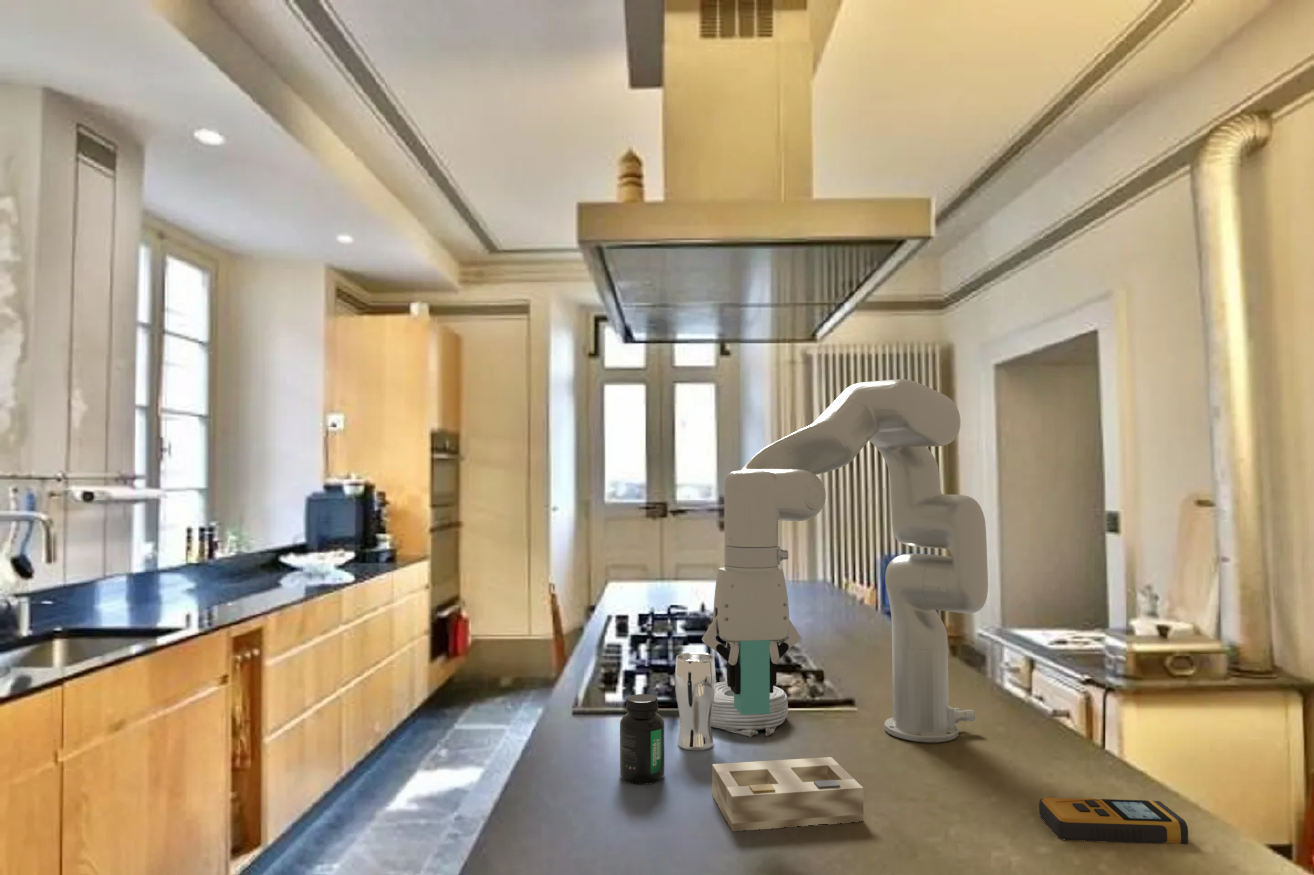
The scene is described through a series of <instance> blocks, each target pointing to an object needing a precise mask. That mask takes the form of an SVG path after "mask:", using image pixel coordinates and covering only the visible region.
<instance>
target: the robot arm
mask: <svg viewBox="0 0 1314 875" xmlns="http://www.w3.org/2000/svg"><path fill="white" fill-rule="evenodd" d="M960 429H961V416H960V411H959V408H958V407H957V405H956V403H955V402H954V401H953V400H952V399H951V398H950V397H948V396H947V395H945V394H943V393H941V392H939V391H937V390H935V389H933V388H931V387H929V386H926V385H925V384H922V383H920V382H917V381H914V380H911V379H906V378H905V379H904V378H900V379H899V378H898V379H897V378H896V379H885V380H874V381H862V382H856V383H854V384H852V385H849V386H848V387H847V388H845V389H844V390H843V391H842V392H841V393H840V394H839V395H838V396H837V397H836V398H835V399H834V400H833V401H832V403H831V404H830V405H828V407H826V409H825V410H824V411H823V412H822V413H821V414H819V416H818V417H817V418H816V419H815V420H814V421H813V422H812V423H811V424H809V425H808V426H805V427H803V428H800V429H798V430H796V431H794V432H792V433H791V434H789V435H786V436H784V437H782V438H781V439H779V440H777V441H774V442H772V443H771V444H769V445H767V446H766V447H764V448H762V449H760V450H759V451H758V452H757V453H756V454H754V456H753V457H752V458H750V459H749V460H748V461H747V463H745V465H744V466H743V467H742V468H741V469H740V470H735V471H734V470H733V471H730V472H729V473H728V474H726V476H725V479H724V567H719V568H718V570H717V574H716V581H715V587H714V588H715V590H714V598H713V611H712V612H713V613H712V621H711V623H710V625H709V626H708V628H707V630H706V631H705V633H704V634H703V636H702V638H701V640H702V641H701V642H702V643H703V644H705V645H706V646H707V647H709V648H711V650H714V651H716V652H717V653H718V654H719V655H720V656H721V658H723V659H724V660H725V661H726V681H727V685H728V687H731V690H732V691H733V692H734V693H735V694H740V665H739V664H738V659H737V658H738V653H739V647H740V642H741V641H751V640H770V693H773V686H776V685H777V680H778V679H777V664H778V663H780V659H781V658H782V657H783V656H784V655H785V654H786V653H787V652H788V651H789V649H790V648H792V647H794V646H795V645H796V644H798V643H799V642H800V641H801V640H802V638H801V635H800V634H799V632H798V630H797V628H795V625H794V624H793V623H792V622H791V620H790V608H789V598H788V591H787V590H788V589H787V583H786V578H785V573H784V569H783V568H782V567H779V566H781V562H782V561H784V560H785V561H786V560H788V559H789V551H788V550H787V549H782V548H781V547H780V546H779V521H785V522H803V521H808V520H811V519H812V518H815V517H816V516H817V515H818V514H820V512H821V511H822V510H823V508H824V505H825V503H826V488H825V486H824V483H823V481H822V480H821V479H820V478H819V477H818V476H817V475H821V474H826V473H828V472H831V471H835V470H838V469H840V468H843V467H845V466H847V465H849V464H850V463H851V462H852V461H853V460H854V459H855V458H856V457H857V455H858V454H859V453H861V452H860V451H861V450H862V449H863V448H864V447H865V446H866V445H867V443H868V442H870V443H871V444H872V445H873V446H874V447H875V448H876V449H877V451H878V452H879V453H880V454H881V456H882V457H883V460H884V461H885V463H886V466H887V469H888V473H889V484H890V485H889V487H890V507H891V525H892V532H893V536H894V538H895V540H896V541H898V543H900V544H903V545H905V546H909V547H914V548H915V547H916V548H929V549H930V548H931V549H941V550H942V549H944V550H948V551H949V552H950V556H949V555H938V554H927V553H925V554H924V553H903V554H901V555H898V556H895V557H894V558H893V559H891V560H890V562H889V563H888V565H887V567H886V570H885V576H884V579H885V581H884V582H885V589H886V594H887V597H888V602H889V608H890V617H891V618H890V619H891V651H892V652H891V653H892V654H891V655H892V656H891V659H892V660H891V661H892V662H891V663H892V665H891V666H892V668H891V669H892V673H891V674H892V717H890V718H889V717H888V718H887V719H886V720H884V726H883V728H884V730H885V731H886V733H887V734H889V735H891V736H893V737H896V738H899V739H902V740H906V741H911V742H917V743H919V742H920V743H944V742H949V741H952V740H955V739H956V738H958V736H959V727H958V726H957V724H958V723H959V722H974V721H975V720H976V713H975V711H974V710H973V709H963V710H961V708H960V707H952V706H950V704H949V653H948V652H949V650H948V648H949V646H948V642H949V641H948V633H947V630H946V629H947V628H946V626H945V624H944V622H943V620H942V619H941V616H940V615H939V613H938V612H937V611H942V612H951V613H952V612H953V613H958V614H974V613H977V612H979V611H981V610H982V608H983V607H984V606H985V604H986V601H987V599H988V592H989V571H988V570H989V568H988V546H987V529H986V528H987V527H986V519H985V518H986V517H985V515H984V511H983V509H982V507H981V506H980V504H979V502H978V501H977V500H976V499H974V498H973V497H970V496H969V495H965V494H964V495H963V494H950V493H949V494H944V493H942V492H941V488H940V484H941V483H940V473H939V472H940V471H939V465H938V462H937V460H936V459H935V457H934V454H933V453H932V452H931V451H930V449H929V448H928V447H942V446H943V447H944V446H947V445H949V444H951V443H952V442H954V440H955V439H957V437H958V435H959V434H960V433H959V432H960ZM717 636H718V637H719V638H720V639H721V640H722V642H726V643H725V645H724V644H723V643H721V642H719V641H718V640H717V638H716V637H717Z"/></svg>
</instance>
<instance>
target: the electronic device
mask: <svg viewBox="0 0 1314 875" xmlns="http://www.w3.org/2000/svg"><path fill="white" fill-rule="evenodd" d="M1038 806H1039V808H1038V811H1039V813H1038V814H1039V817H1040V819H1041V818H1042V819H1043V820H1044V821H1045V822H1044V821H1043V820H1042V819H1041V820H1042V821H1043V822H1044V823H1045V825H1046V826H1049V827H1050V828H1051V829H1052V830H1053V831H1052V830H1051V829H1050V828H1049V827H1048V828H1049V829H1050V830H1051V831H1052V832H1053V833H1054V834H1056V835H1057V836H1058V837H1060V838H1061V839H1060V838H1059V839H1060V840H1063V839H1065V840H1064V841H1068V840H1083V841H1082V842H1097V841H1106V842H1105V843H1134V844H1137V843H1138V844H1158V845H1160V844H1179V845H1180V844H1181V845H1187V844H1188V843H1189V827H1188V824H1187V822H1186V821H1185V820H1184V819H1183V817H1181V816H1180V815H1178V814H1177V813H1176V812H1174V811H1173V810H1172V809H1171V808H1169V807H1168V806H1166V805H1165V804H1164V803H1163V802H1161V801H1159V800H1145V799H1143V800H1142V799H1115V798H1114V799H1113V798H1112V799H1111V798H1109V799H1108V798H1106V799H1105V798H1078V797H1077V798H1075V797H1074V798H1073V797H1072V798H1070V797H1043V798H1040V799H1039V802H1038ZM1056 835H1055V836H1056ZM1057 836H1056V837H1057ZM1084 840H1085V841H1084Z"/></svg>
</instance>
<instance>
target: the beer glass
mask: <svg viewBox="0 0 1314 875" xmlns="http://www.w3.org/2000/svg"><path fill="white" fill-rule="evenodd" d="M675 657H676V660H675V672H674V674H675V675H674V677H675V678H674V685H675V687H674V688H675V696H676V702H677V703H676V704H677V708H678V715H679V722H680V723H679V724H680V725H679V734H678V738H677V739H678V740H677V745H678V747H679V748H680V749H683V750H686V751H693V752H694V751H695V752H697V751H706V750H710V749H711V748H713V747H714V737H713V732H712V727H711V717H712V710H713V704H714V698H715V689H716V683H717V680H716V676H717V675H716V665H715V664H716V663H715V656H714V655H713V654H710V653H705V652H685V653H679V654H677V655H676V656H675Z"/></svg>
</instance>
